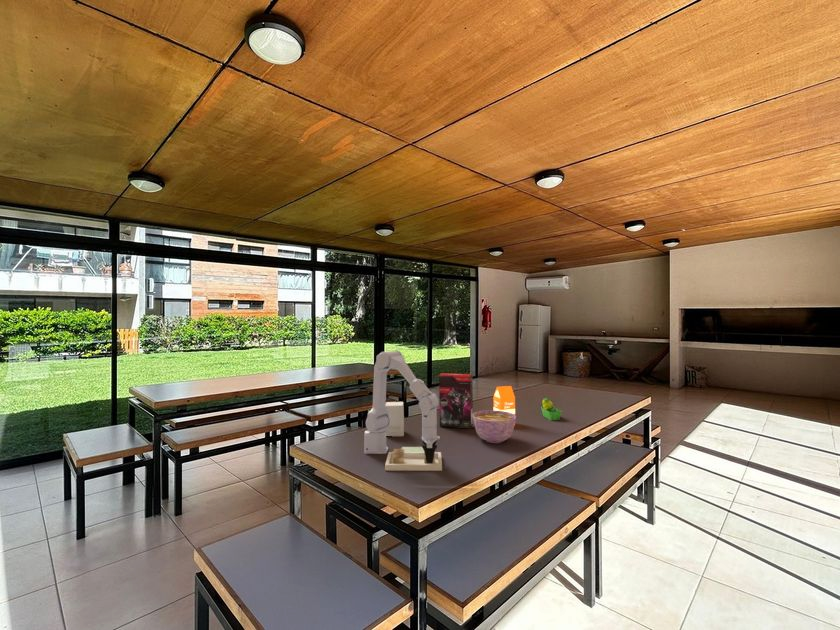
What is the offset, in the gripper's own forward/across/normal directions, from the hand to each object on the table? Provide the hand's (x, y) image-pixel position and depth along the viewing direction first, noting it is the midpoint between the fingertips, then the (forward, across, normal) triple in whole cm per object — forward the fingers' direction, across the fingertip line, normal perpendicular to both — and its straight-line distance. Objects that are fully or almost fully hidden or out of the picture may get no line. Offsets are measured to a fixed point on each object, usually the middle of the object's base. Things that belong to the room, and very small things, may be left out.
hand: (429, 460), depth 154 cm
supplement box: (+2, +40, +17) cm, 44 cm away
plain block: (+1, 0, +12) cm, 12 cm away
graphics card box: (+2, +53, -14) cm, 55 cm away
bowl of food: (+2, +30, -30) cm, 42 cm away
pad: (+2, +14, +6) cm, 15 cm away
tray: (+2, 0, +6) cm, 6 cm away
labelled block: (+1, 0, 0) cm, 1 cm away
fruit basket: (+2, +70, -68) cm, 98 cm away
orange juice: (+2, +58, -40) cm, 70 cm away
